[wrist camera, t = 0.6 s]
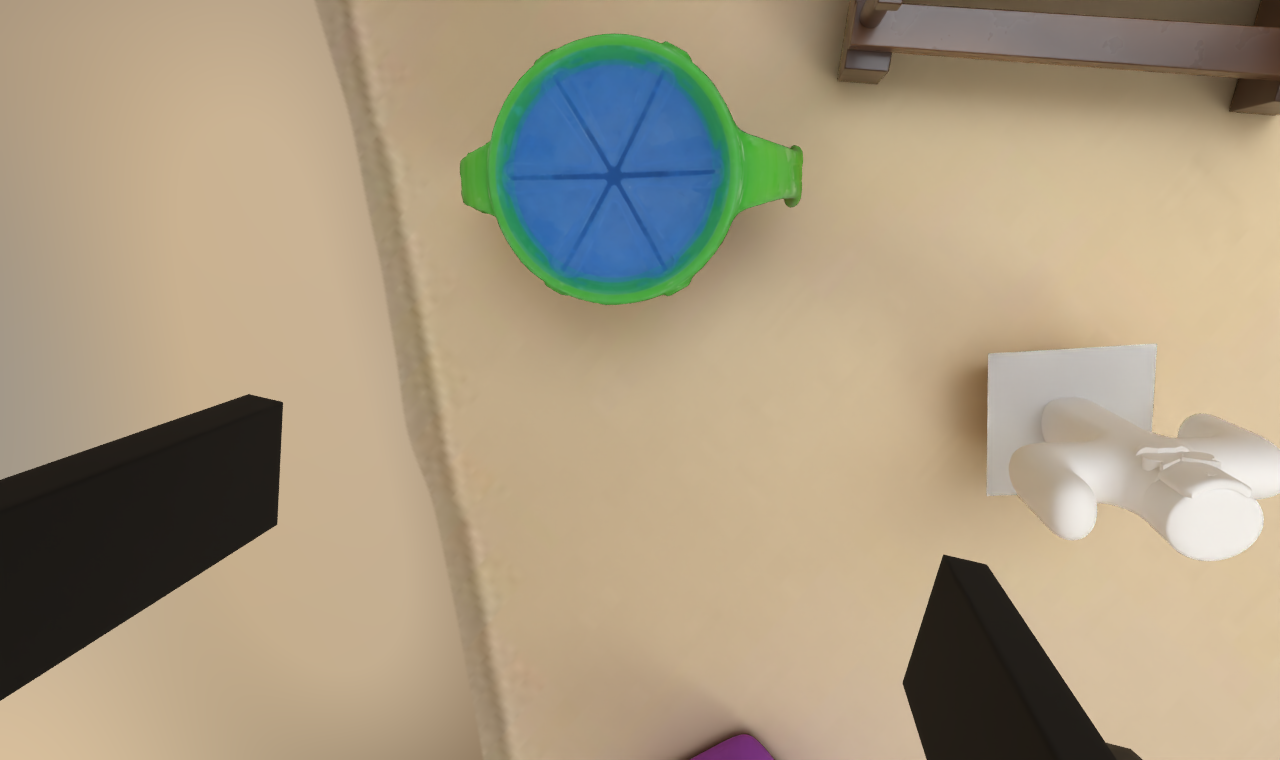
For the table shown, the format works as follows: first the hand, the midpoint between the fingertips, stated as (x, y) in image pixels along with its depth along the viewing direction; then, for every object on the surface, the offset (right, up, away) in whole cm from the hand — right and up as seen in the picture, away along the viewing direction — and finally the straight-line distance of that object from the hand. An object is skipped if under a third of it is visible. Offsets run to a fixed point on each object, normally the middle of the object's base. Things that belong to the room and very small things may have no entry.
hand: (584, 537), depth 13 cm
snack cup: (+2, +14, +24) cm, 28 cm away
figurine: (+22, +2, +24) cm, 32 cm away
